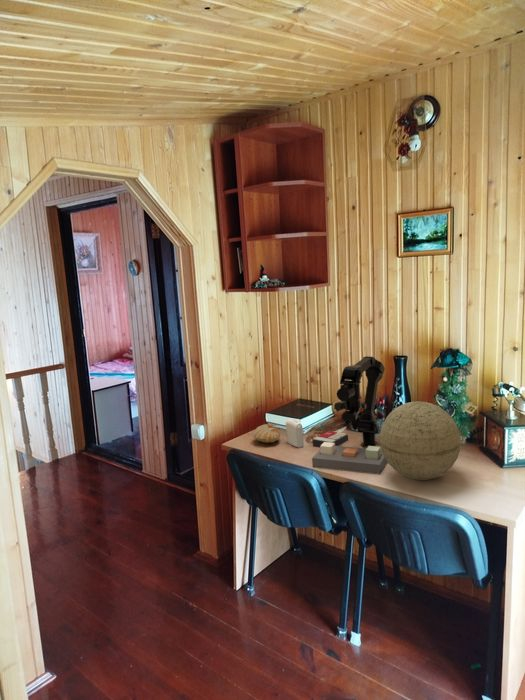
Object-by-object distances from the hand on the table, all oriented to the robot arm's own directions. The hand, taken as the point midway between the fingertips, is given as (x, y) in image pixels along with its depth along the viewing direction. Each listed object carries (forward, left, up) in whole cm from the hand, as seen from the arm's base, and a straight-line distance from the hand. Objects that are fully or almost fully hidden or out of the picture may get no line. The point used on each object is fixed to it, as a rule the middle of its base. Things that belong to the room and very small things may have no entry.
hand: (355, 429), depth 227 cm
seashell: (-10, -47, -12) cm, 49 cm away
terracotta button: (+9, 0, -11) cm, 14 cm away
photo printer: (-6, -32, -12) cm, 35 cm away
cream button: (+9, -10, -10) cm, 16 cm away
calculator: (-12, -16, -13) cm, 24 cm away
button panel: (+9, 0, -12) cm, 15 cm away
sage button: (+9, +10, -10) cm, 16 cm away
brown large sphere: (+15, +30, -12) cm, 36 cm away
